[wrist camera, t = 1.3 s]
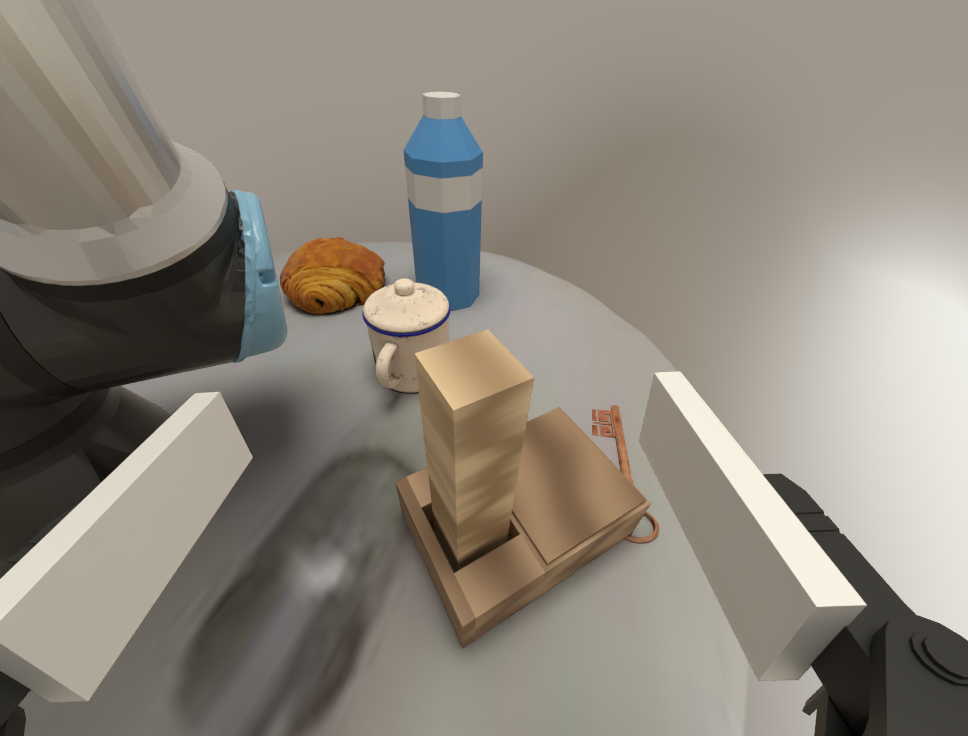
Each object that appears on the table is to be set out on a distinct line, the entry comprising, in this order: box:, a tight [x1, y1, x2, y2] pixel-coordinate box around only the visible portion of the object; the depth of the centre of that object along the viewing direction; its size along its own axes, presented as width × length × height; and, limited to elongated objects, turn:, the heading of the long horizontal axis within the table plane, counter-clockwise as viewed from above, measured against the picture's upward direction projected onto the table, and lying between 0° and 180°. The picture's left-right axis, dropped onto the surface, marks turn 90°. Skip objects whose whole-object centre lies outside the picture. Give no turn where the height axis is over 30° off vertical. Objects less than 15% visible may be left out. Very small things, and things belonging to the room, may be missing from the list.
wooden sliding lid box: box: [395, 407, 651, 648], centre depth 31 cm, size 16×11×5 cm
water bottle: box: [404, 92, 483, 311], centre depth 51 cm, size 9×9×25 cm
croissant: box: [280, 238, 385, 314], centre depth 57 cm, size 14×16×8 cm
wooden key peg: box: [414, 330, 534, 573], centre depth 25 cm, size 4×4×20 cm
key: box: [592, 405, 659, 543], centre depth 38 cm, size 6×1×15 cm
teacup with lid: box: [363, 279, 450, 392], centre depth 42 cm, size 12×9×12 cm
